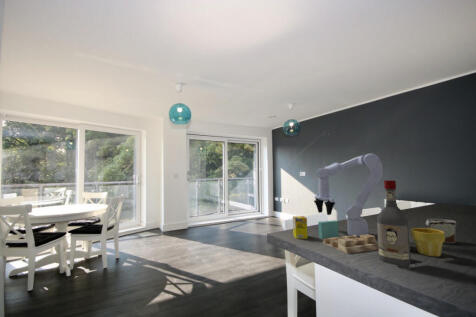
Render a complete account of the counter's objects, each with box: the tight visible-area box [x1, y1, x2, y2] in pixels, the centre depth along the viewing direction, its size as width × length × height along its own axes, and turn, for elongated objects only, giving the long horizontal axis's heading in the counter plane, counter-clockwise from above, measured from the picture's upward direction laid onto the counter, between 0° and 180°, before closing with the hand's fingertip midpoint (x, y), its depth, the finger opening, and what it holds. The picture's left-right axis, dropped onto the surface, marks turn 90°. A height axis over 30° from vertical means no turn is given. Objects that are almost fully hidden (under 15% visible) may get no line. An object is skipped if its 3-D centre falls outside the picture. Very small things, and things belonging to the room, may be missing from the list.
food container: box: [425, 218, 458, 244], centre depth 110 cm, size 12×6×10 cm, turn 84°
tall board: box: [317, 220, 340, 239], centre depth 116 cm, size 10×2×8 cm, turn 107°
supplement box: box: [292, 215, 308, 240], centre depth 117 cm, size 6×6×11 cm
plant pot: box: [410, 227, 445, 257], centre depth 91 cm, size 10×10×10 cm
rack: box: [321, 235, 379, 255], centre depth 102 cm, size 18×16×3 cm
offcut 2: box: [351, 237, 365, 246], centre depth 99 cm, size 5×4×4 cm
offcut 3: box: [359, 233, 376, 245], centre depth 100 cm, size 4×4×4 cm
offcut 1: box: [337, 238, 354, 252], centre depth 97 cm, size 4×4×4 cm
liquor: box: [376, 179, 412, 269], centre depth 85 cm, size 9×9×30 cm
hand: (324, 213), depth 129 cm, fingers open, 7 cm apart
